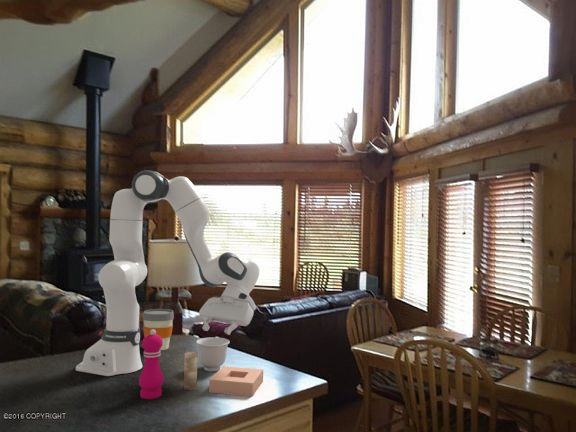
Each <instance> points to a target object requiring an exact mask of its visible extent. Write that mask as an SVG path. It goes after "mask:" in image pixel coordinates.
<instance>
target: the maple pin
mask: <svg viewBox="0 0 576 432" xmlns="http://www.w3.org/2000/svg"><path fill="white" fill-rule="evenodd" d="M198 357H199V352H196V351H187V352H185V353H184V366H183V367H184V368H183V370H184V371H183V373H184V375H183V377H184V378H183V390H186V391H195V390H197V385H198V383H197V382H198V377H197V376H198Z"/></svg>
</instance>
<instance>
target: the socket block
mask: <svg viewBox="0 0 576 432" xmlns="http://www.w3.org/2000/svg"><path fill="white" fill-rule="evenodd" d="M208 380H209V382H208V383H209V385H208V386H209V387H208V393H212V394H213V393H215V394H223V395H224V394H225V395H226V394H227V395H237V396H247V397H248V396H249V397H254V395H255V394H256V392H257V391H258V390H259V388H260V386H261V385H262V384H263V382H264V369H262V368H261V369H260V368H248V367H237V366H226V365H225V366H222V367H220V370H218V371H216V373H214V374H213V375H212V376H211V377H210V378H209V379H208Z"/></svg>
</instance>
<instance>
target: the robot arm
mask: <svg viewBox="0 0 576 432" xmlns="http://www.w3.org/2000/svg"><path fill="white" fill-rule="evenodd" d="M163 200H165V201H167V202H168V203H169V204H170V206H171V207H172V210H173V211H174V213H175V214H176V216H177V218H178V220H179V221H180V224H181V227H182V231H183V235H184V238H185V240H186V243H187V245H188V248H189V250H190V251H191V254H192V256H193V258H194V260H195V263H196V264H197V267H198V273H199V277H200V280H201V281H202V282H203V284H205V285H206V286H207V287H209V288H218V287H219V286H221V285H222V284H224V283H226V287H225V289H224V290H223V292H222V294H221V296H219V297H218V296H213V297H211V298H210V297H209V298H208V299H207V301H205V303H204V304H203V305H202V306H201V308H200V309H199V312H198V314H199V315H198V316H199V317H200V318H201V319H202V320H203V322H204V324H203V326H202V330H203V331H206V332H208V331H209V330H210V325H209V324H211V322H216V323H223V324H227V325H228V324H229V326H228V327H225V328H224V330H223V332H224V334H225V335H228V336H230V335H231V333H232V332H233V331H234V330H235V329H237V328H238V326H242V327H247V326H248V325H249V324H250V323H251V321H252V319H253V316H254V313H255V311H256V308H257V306H256V304H255V301H254V300H253V298H252V297H251V296H250V294H251V292H252V291H253V290H254V288H255V286H256V283H257V281H258V279H259V276H260V267H259V265H257V263H256V262H255V261H253V260H251V259H248V258H247V259H245V258H241V257H239V256H237V255H236V254H235V253H233V252H231V251H230V252H229V251H228V252H224V253H222V254H220V255H218V256H216V257H213V254H212V253H211V251H210V249H209V246H208V244H207V242H206V240H205V237H204V232H205V229H206V225H207V224H208V222H209V217H210V211H209V210H210V209H209V207H208V205H207V203H206V201H205V199H204V198H203V196H202V195H201V193H200V191H199V190H198V189H197V187H196V186H195V185H194V183H193V182H192V181H191V180H190V179H189V178H188V177H186V176H181V175H180V176H179V175H178V176H176V177H173V178H171V179H168V178H166V176H164V175H163V174H161V173H159V172H157V171H154V170H142V171H139V172H138V173H137V174H136V175H134V177H133V179H132V181H131V188H123V189H120V190H118V191H115V193H114V196H113V199H112V202H111V207H110V214H109V215H110V218H109V239H108V241H109V244H110V245H111V249H112V253H113V258H114V260H112V261H109V262H108V263H107V264H105V265H104V266H103V267H101V269H100V271H99V272H98V276H97V277H98V283H99V285H100V286H101V288H102V290H103V294H104V295H103V296H104V299H105V300H104V301H105V305H106V306H105V307H106V320H105V321H106V322H105V323H106V324H105V325H106V326H105V328H104V329H102V330H100V331H98V332H99V333H98V336H101V338H100V339H99V340H98V341H96V342H95V343H94V344H93V345H91V346H90V347H88V348H87V349H86V351H85V352H84V353H83V359H82V362H79V364H77V365H76V366H75V371H77V372H82V373H87V374H93V375H99V376H104V377H111V376H115V375H116V376H117V375H121V374H124V375H125V374H130V373H133V372H137V371H139V370H141V369H142V368H143V363H142V360H141V353H140V340H141V328H140V304H139V303H138V300H137V296H136V287H137V286H139V285H140V284H141V283H143V281H144V280H145V279H146V277H147V275H148V266H147V265H146V262H145V255H144V249H143V223H144V222H143V221H144V219H143V218H144V217H143V215H144V208H145V206H147V205H150V204H153V203H157V202H161V201H163Z"/></svg>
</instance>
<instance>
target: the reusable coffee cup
mask: <svg viewBox="0 0 576 432" xmlns="http://www.w3.org/2000/svg"><path fill="white" fill-rule="evenodd" d="M174 314H175V313H174V310H173V309H169V308H168V309H166V308H155V309H154V308H153V309H147V310H144V311H143V314H142V320H143V325H142V327H143V336H144V337H143V338H145V337H146V336H147V335H150V331H151V330H152V329H154V330H155V331H156V335H159V336H160V337H161V338H162V341H163V345H162V347H161V348H160V350H161V351H165V350H168V349H169V348H170V341H171V337H172V333H173V328H174V326H173V325H174V324H173V321H174V319H175V316H174Z"/></svg>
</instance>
